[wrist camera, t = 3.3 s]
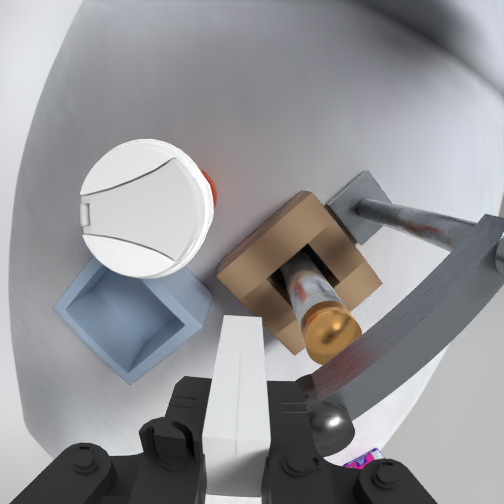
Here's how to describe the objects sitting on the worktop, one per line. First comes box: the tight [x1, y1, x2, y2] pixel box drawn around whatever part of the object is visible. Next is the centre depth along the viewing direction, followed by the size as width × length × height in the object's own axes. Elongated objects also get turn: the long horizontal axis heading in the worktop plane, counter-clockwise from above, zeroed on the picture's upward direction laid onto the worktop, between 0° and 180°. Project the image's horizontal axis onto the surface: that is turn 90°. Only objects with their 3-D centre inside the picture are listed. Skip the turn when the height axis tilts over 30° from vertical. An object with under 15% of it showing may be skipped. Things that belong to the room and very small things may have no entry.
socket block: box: [216, 190, 383, 355], centre depth 27 cm, size 10×10×5 cm
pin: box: [280, 250, 362, 365], centre depth 22 cm, size 3×3×15 cm
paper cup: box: [79, 139, 217, 279], centre depth 21 cm, size 8×8×14 cm
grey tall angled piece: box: [295, 199, 504, 457], centre depth 18 cm, size 13×2×20 cm, turn 132°
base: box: [327, 171, 392, 245], centre depth 28 cm, size 5×5×1 cm
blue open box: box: [54, 256, 213, 385], centre depth 27 cm, size 10×10×7 cm
